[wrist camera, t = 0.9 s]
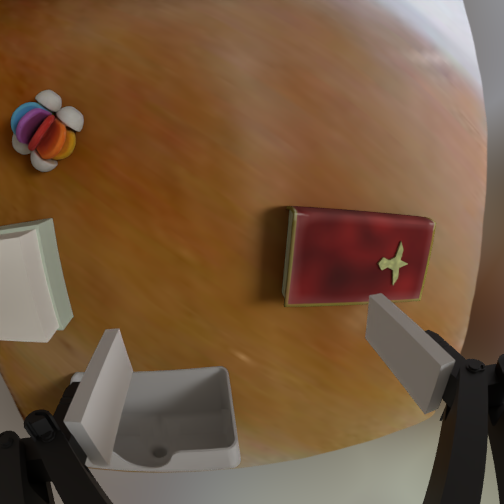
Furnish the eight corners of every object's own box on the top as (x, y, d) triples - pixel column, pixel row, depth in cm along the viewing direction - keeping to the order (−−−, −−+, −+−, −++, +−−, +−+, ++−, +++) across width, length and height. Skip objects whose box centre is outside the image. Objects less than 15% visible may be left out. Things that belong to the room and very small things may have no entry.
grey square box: (-19, 229, 33) (-51, 244, 25) (52, 218, 35) (21, 232, 27) (3, 316, 37) (-22, 341, 29) (73, 316, 39) (52, 345, 31)
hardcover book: (286, 204, 39) (294, 209, 35) (420, 215, 42) (437, 221, 38) (277, 294, 42) (285, 307, 38) (406, 290, 45) (421, 301, 41)
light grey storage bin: (104, 436, 46) (91, 487, 34) (72, 371, 41) (46, 424, 29) (237, 433, 49) (245, 489, 37) (227, 364, 44) (235, 426, 32)
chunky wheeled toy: (59, 179, 34) (31, 185, 27) (15, 139, 31) (-16, 139, 24) (97, 123, 32) (74, 117, 26) (49, 85, 30) (22, 74, 23)
